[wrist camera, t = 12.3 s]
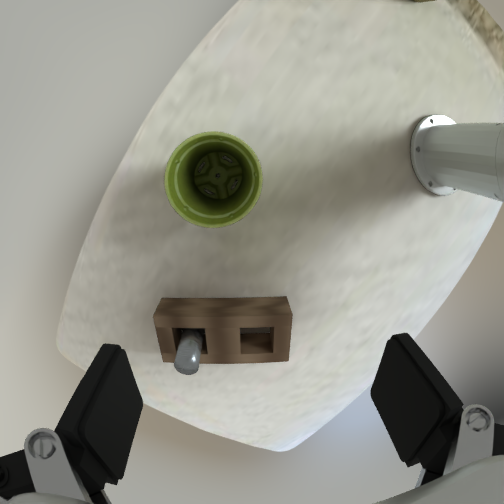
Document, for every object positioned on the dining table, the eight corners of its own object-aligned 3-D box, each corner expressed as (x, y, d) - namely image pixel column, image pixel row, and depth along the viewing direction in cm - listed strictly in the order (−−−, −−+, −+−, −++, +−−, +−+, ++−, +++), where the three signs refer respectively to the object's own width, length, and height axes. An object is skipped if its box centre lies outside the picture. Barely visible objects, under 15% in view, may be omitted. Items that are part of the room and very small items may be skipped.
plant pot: (203, 125, 32) (191, 115, 24) (270, 159, 34) (280, 160, 25) (169, 191, 34) (149, 202, 26) (234, 224, 36) (233, 244, 28)
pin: (204, 313, 40) (196, 357, 31) (206, 329, 41) (199, 375, 32) (184, 313, 40) (172, 356, 31) (187, 329, 41) (176, 374, 32)
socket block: (286, 296, 40) (292, 314, 35) (283, 340, 42) (288, 361, 38) (161, 298, 39) (153, 316, 34) (169, 342, 42) (163, 362, 37)
